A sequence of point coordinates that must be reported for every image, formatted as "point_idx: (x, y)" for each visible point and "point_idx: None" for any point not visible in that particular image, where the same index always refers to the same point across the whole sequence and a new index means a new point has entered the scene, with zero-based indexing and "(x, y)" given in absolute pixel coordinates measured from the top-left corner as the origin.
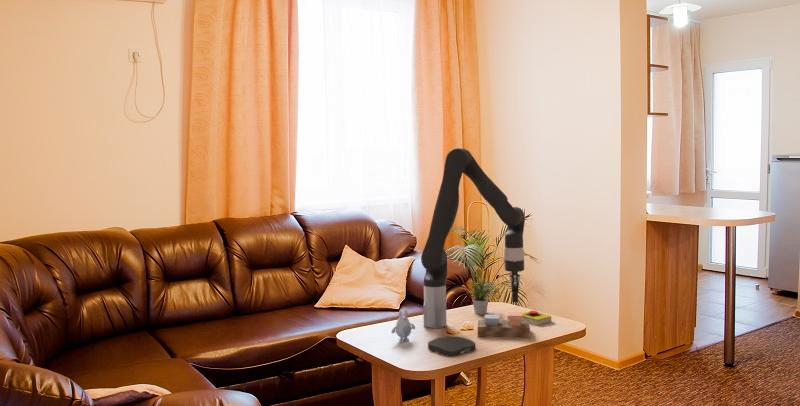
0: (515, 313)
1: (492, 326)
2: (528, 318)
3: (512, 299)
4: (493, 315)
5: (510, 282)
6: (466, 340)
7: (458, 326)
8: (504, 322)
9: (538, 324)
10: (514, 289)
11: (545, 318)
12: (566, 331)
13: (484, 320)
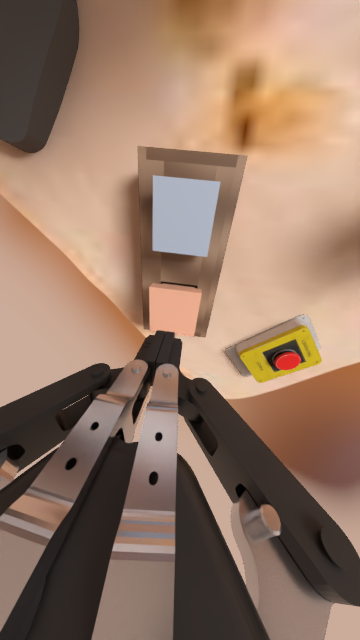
0: (177, 316)
1: (147, 223)
2: (264, 341)
3: (155, 336)
4: (198, 230)
5: (62, 452)
6: (14, 86)
7: (304, 44)
8: (194, 273)
9: (236, 350)
10: (88, 394)
11: (249, 370)
12: (193, 378)
13: (228, 191)
